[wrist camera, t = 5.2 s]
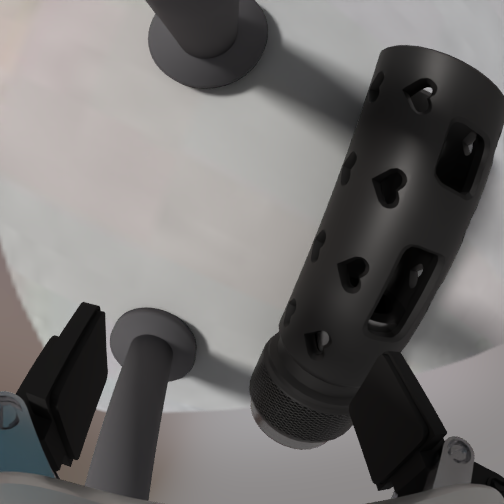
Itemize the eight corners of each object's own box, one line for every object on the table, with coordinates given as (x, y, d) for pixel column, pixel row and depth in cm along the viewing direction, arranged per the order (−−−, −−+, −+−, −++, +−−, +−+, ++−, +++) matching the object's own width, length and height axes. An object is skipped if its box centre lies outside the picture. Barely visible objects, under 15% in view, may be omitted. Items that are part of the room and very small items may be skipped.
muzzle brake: (447, 111, 21) (538, 122, 12) (327, 376, 31) (353, 456, 22) (350, 57, 20) (425, 27, 10) (239, 362, 30) (243, 452, 20)
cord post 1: (202, 317, 27) (180, 628, 5) (190, 380, 30) (173, 620, 8) (113, 299, 26) (1, 573, 4) (114, 363, 29) (49, 588, 7)
